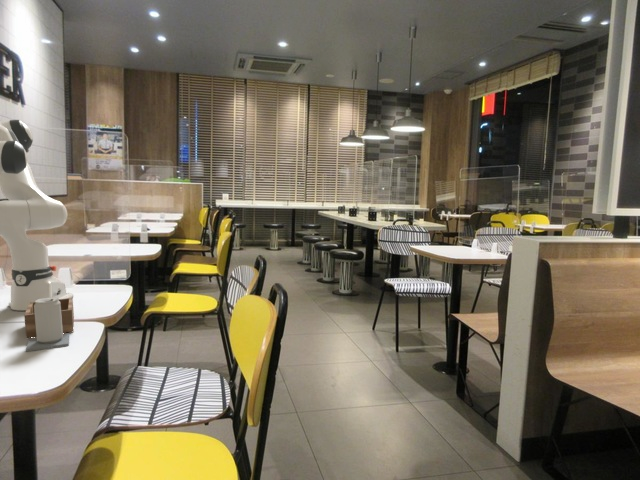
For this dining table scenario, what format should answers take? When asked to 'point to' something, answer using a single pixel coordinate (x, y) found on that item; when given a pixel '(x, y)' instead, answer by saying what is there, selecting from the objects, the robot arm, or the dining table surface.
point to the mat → (37, 345)
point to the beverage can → (48, 320)
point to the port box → (66, 315)
